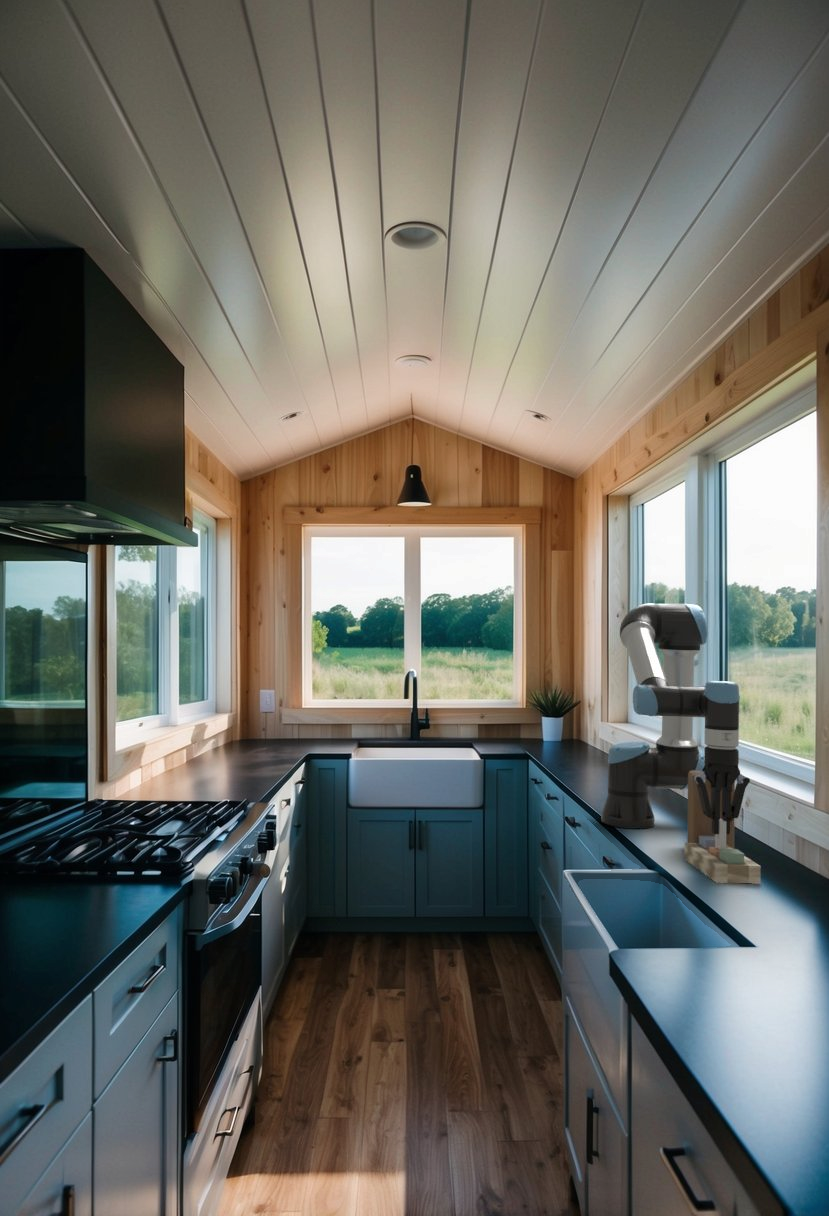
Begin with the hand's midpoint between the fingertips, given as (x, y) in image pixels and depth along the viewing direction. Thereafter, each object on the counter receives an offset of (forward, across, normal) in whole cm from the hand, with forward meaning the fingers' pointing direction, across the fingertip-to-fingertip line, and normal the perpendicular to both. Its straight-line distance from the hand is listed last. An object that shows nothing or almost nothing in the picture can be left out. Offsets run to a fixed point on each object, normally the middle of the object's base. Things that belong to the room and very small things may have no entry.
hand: (720, 847), depth 183 cm
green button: (+3, 0, -6) cm, 7 cm away
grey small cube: (+3, 0, +6) cm, 7 cm away
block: (+6, +4, +16) cm, 17 cm away
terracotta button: (+4, 0, 0) cm, 4 cm away
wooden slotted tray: (+5, 0, 0) cm, 5 cm away
